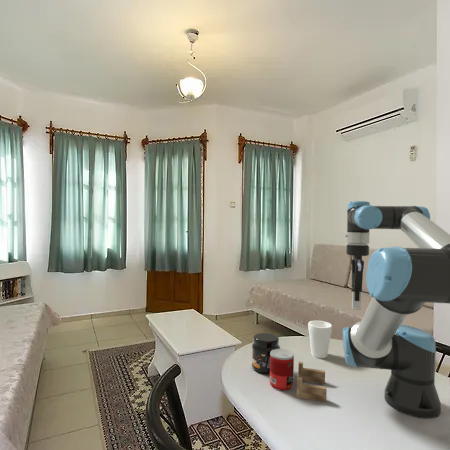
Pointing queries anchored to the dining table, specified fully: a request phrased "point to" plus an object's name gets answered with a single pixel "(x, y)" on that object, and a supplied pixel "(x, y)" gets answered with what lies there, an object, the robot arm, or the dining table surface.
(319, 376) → the chute
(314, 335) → the foam cup
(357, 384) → the dining table surface
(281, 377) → the canned food
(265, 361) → the supplement container
